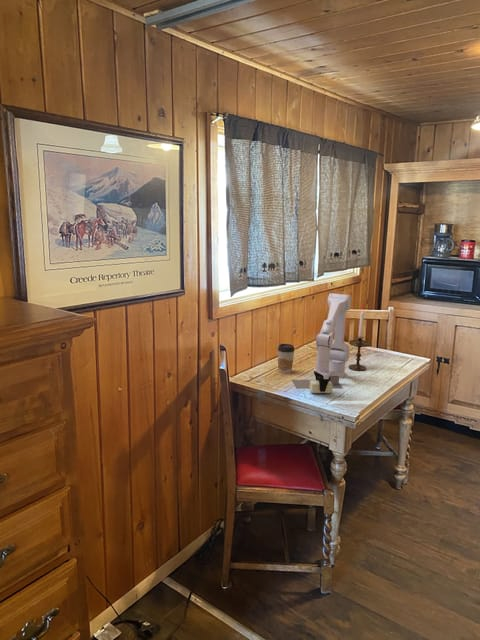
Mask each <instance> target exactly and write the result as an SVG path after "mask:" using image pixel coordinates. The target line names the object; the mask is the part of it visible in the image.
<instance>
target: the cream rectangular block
mask: <svg viewBox="0 0 480 640" xmlns="http://www.w3.org/2000/svg"><path fill="white" fill-rule="evenodd" d="M309 380H310V388H309V389H308V390H309V391H310V393H312V394H332V393H333V389H332V386H333V384H332V383H331V382H330V381H329V382H328V384H327V387H326V390H325V392H320V387H319V380H316V379H309Z"/></svg>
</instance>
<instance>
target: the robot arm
mask: <svg viewBox="0 0 480 640" xmlns="http://www.w3.org/2000/svg"><path fill="white" fill-rule="evenodd" d="M327 305H328V308H329V311H328V315H327V319H325V320H323V323H322V325H321V329H320V332H319V333H317V334H316V338H315V345H316V348H315V349H316V351H317V352H316V362H315V363H316V364H315V368H313V369H312V371H313V374H314V377H315V380H319V387H320V392H325V390H326V387H327V384H328V382H329V381H330V379H331V378H330V377H329V371H343V372H344V373H345V371H346V363H347V362H348V361H349V359H350V346H349V345H348V344H347V342H345V331H346V330H345V329H346V319H347V317H346V316H347V312H348V311H350V310H351V308H352V307H351V305H352V296H351V295H350V294H344V293H343V294H342V293H333V292H330V293H329V295H328V296H327ZM344 377H345V375H344V376H339V379H342V378H344Z"/></svg>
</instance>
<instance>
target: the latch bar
mask: <svg viewBox="0 0 480 640" xmlns="http://www.w3.org/2000/svg"><path fill="white" fill-rule="evenodd" d="M329 376H344V377H345V372H343V371H329Z"/></svg>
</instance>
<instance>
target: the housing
mask: <svg viewBox="0 0 480 640" xmlns="http://www.w3.org/2000/svg"><path fill="white" fill-rule="evenodd" d="M329 377H330V378H331V379H330V382H331V383H332V384H333V386H332V390H333V389H341V390H342V389H344V387H343V386H342V385H341V384H340V378H339V376H329ZM310 380H311V379H291V382H292V383H293V385H294V387H295V388H296V389H297V390H298V389H300V390H301V389H303V390H304V389H307V390H310V389H309V388H310Z"/></svg>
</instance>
